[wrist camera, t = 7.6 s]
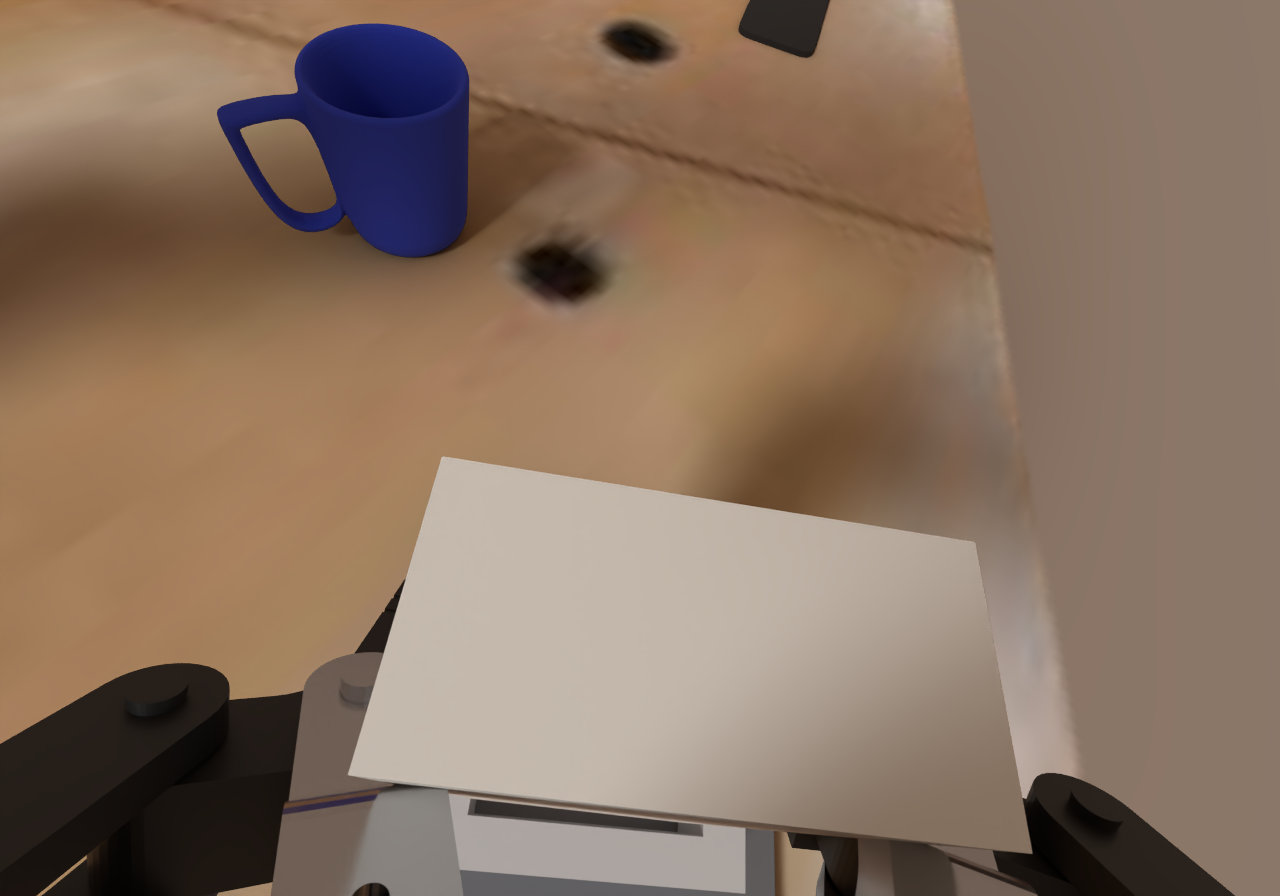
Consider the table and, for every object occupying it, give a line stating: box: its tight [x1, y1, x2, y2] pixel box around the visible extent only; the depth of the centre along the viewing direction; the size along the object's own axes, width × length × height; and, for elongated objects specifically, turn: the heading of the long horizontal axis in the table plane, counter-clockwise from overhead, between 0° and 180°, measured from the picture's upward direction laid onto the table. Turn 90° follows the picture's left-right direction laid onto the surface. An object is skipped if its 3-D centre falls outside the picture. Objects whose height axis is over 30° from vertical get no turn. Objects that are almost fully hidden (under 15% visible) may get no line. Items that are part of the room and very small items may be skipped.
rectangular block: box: [348, 456, 1033, 854], centre depth 10 cm, size 2×5×12 cm, turn 84°
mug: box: [217, 24, 469, 257], centre depth 35 cm, size 8×12×10 cm
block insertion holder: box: [449, 795, 775, 896], centre depth 25 cm, size 22×16×6 cm
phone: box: [739, 0, 829, 58], centre depth 62 cm, size 7×1×15 cm
